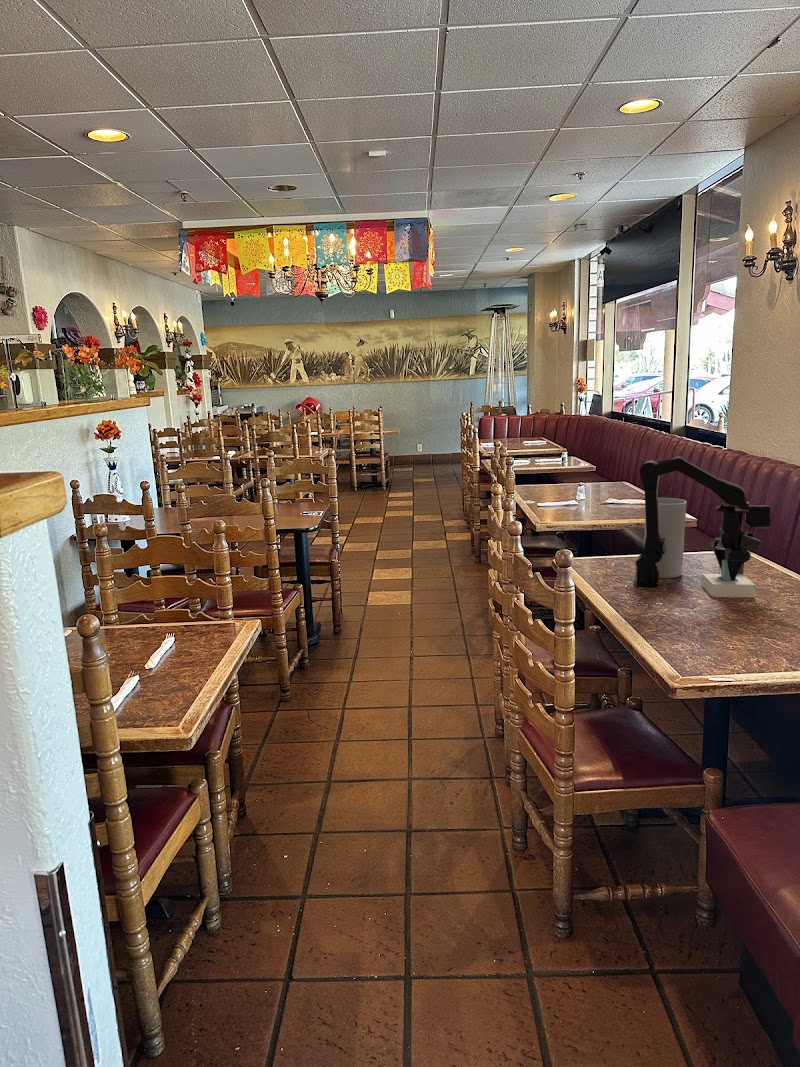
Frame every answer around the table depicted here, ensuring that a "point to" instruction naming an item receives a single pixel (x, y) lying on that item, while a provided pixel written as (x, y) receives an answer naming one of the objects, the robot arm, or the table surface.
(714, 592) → the socket block
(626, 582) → the table surface
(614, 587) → the table surface
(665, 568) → the cylinder vase
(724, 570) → the peg
